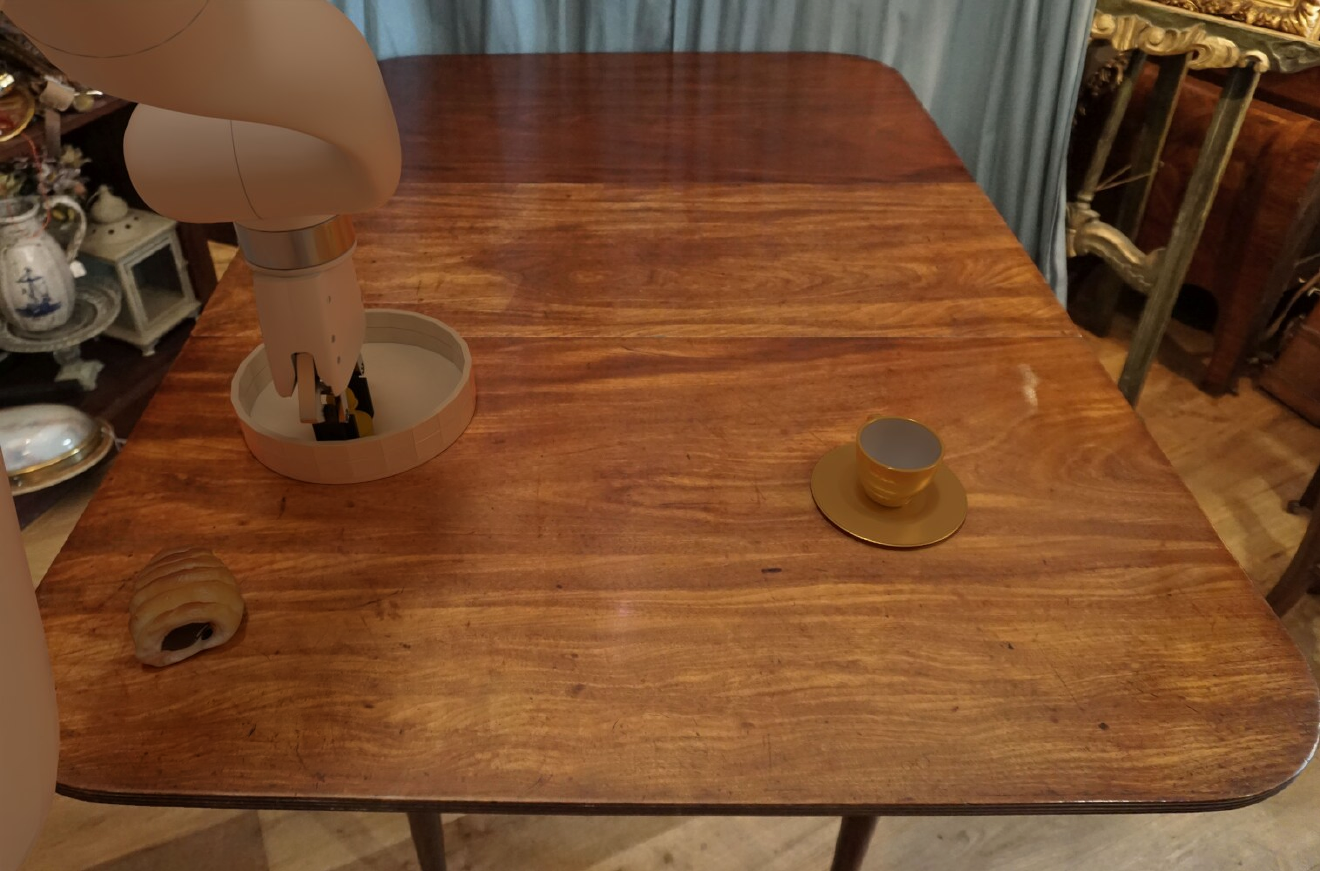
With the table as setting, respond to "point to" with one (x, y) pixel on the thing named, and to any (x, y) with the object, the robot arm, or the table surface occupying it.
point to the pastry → (183, 605)
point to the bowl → (403, 396)
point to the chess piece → (356, 414)
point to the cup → (891, 484)
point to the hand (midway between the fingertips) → (348, 434)
